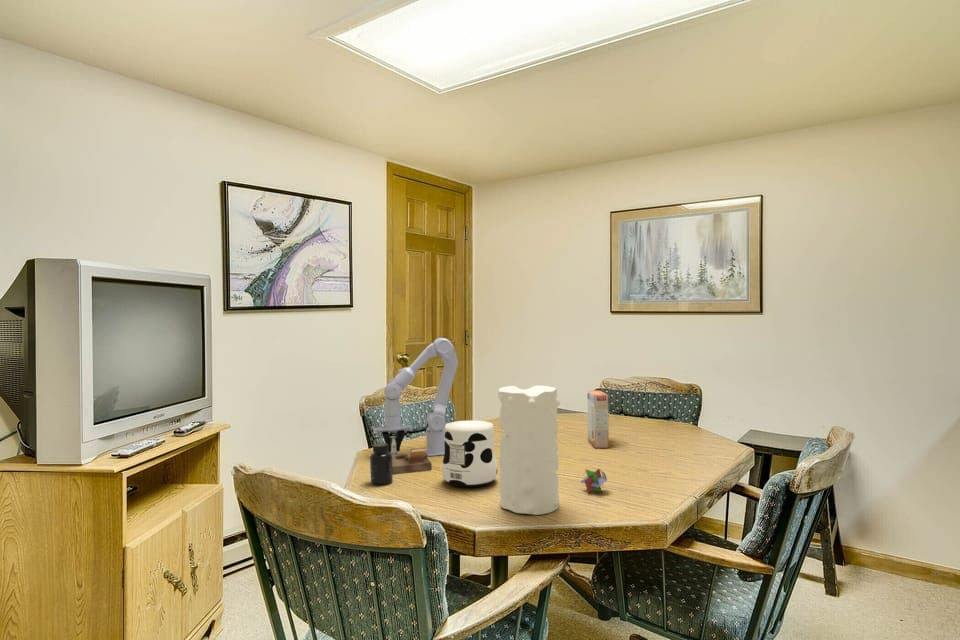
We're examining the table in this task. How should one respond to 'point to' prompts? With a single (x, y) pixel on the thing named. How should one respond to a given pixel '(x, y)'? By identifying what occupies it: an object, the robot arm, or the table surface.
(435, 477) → the table surface
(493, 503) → the table surface
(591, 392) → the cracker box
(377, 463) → the supplement bottle
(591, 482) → the geometric puzzle
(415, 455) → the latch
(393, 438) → the steel pin
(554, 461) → the vase
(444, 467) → the milk container
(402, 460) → the brown board with hole
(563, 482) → the table surface
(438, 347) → the robot arm
